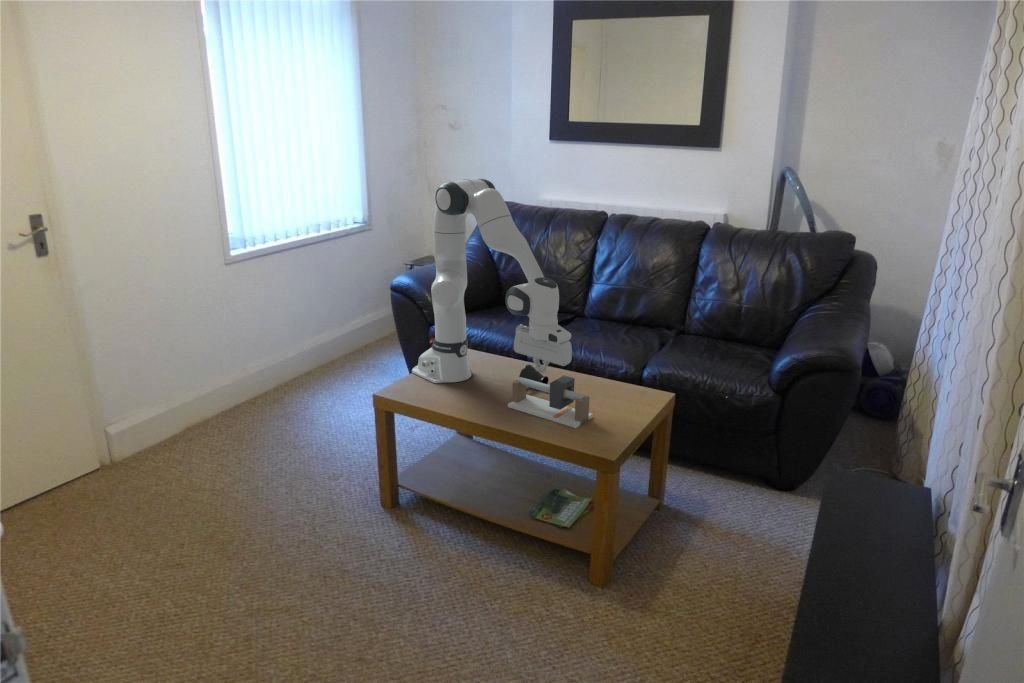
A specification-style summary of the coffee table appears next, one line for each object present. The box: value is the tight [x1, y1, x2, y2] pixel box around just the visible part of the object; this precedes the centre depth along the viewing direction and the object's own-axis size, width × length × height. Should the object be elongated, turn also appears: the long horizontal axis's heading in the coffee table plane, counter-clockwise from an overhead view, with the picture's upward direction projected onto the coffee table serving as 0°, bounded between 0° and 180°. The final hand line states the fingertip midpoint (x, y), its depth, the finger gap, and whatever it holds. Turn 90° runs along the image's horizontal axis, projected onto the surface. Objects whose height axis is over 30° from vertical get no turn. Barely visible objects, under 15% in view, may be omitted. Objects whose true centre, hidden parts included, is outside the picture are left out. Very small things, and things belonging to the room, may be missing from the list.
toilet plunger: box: [518, 364, 549, 394], centre depth 243 cm, size 8×18×8 cm
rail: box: [507, 376, 594, 429], centre depth 225 cm, size 26×10×10 cm, turn 54°
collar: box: [549, 375, 575, 410], centre depth 221 cm, size 4×8×8 cm, turn 144°
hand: (540, 371), depth 224 cm, fingers closed
